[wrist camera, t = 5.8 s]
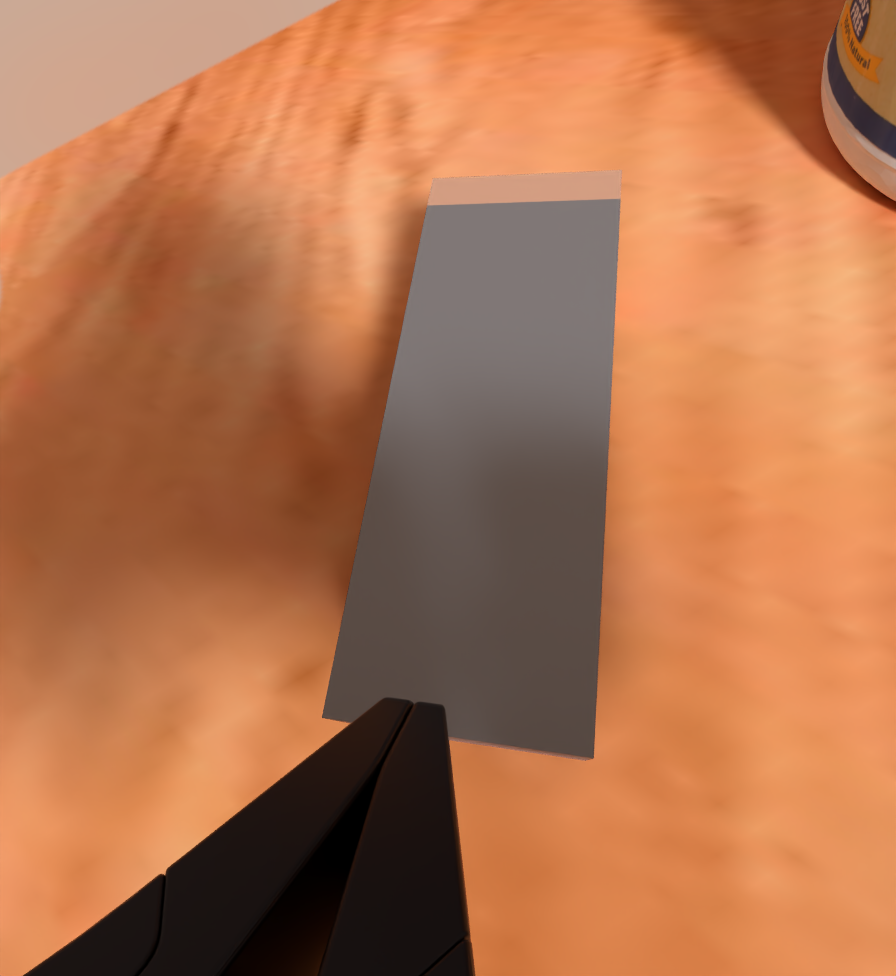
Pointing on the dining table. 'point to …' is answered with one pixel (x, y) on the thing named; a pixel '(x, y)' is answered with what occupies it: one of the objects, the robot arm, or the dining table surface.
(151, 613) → the dining table surface
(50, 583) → the dining table surface
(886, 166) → the supplement tub
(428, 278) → the charcoal block
